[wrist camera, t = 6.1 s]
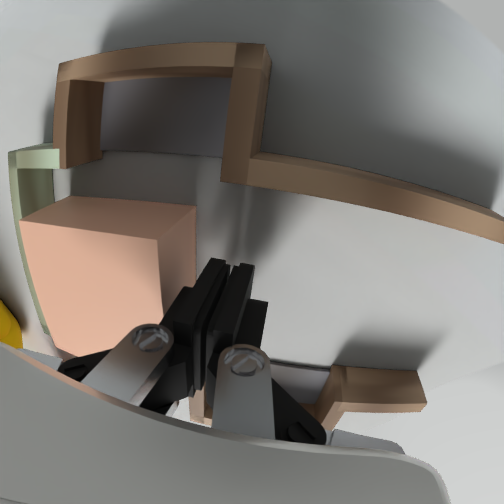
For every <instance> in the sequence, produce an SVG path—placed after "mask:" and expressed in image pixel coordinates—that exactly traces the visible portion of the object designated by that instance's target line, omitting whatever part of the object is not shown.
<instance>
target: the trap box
mask: <svg viewBox="0 0 504 504" xmlns="http://www.w3.org/2000/svg"><path fill="white" fill-rule="evenodd" d="M271 66H272V61H271V59H270V56H269V54H268V51H267V49H266V46H265V44H253V43H233V42H194V43H174V44H162V45H151V46H143V47H135V48H128V49H122V50H116V51H110V52H105V53H100V54H95V55H91V56H86V57H82V58H78V59H74V60H70V61H67V62H63V63H60V64H59V67H58V74H57V83H56V92H55V104H54V120H53V143H44V144H38V145H34V146H30V147H26V148H22V149H18V150H14V151H10V152H8V165H9V181H10V192H11V201H12V208H13V216H14V222H15V228H16V234H17V239H18V244H19V249H20V254H21V258H22V262H23V266H24V270H25V274H26V278H27V282H28V285H29V289H30V292H31V295H32V299H33V302H34V305H35V308H36V311H37V314H38V317H39V320H40V323H41V325H42V328H43V331H44V333H46V334H48V335H50V336H51V334H50V331H49V328H48V326H47V323H46V321H45V318H44V315H43V312H42V309H41V306H40V303H39V300H38V297H37V294H36V291H35V288H34V284H33V281H32V277H31V274H30V270H29V266H28V263H27V258H26V254H25V250H24V246H23V241H22V236H21V231H20V226H19V220H20V219H22V218H24V217H26V216H28V215H30V214H32V213H34V212H36V211H38V210H40V209H42V208H44V207H47V206H49V205H51V204H53V203H54V193H53V178H52V169H68V168H71V167H74V166H77V165H81V164H84V163H88V162H91V161H95V160H99V159H102V158H103V150H111V151H141V152H160V153H174V154H187V155H198V156H208V157H218V158H222V167H221V177H220V182H227V183H235V184H242V185H249V186H255V187H262V188H268V189H275V190H281V191H287V192H293V193H298V194H304V195H309V196H315V197H320V198H325V199H331V200H336V201H341V202H346V203H350V204H355V205H360V206H364V207H369V208H373V209H378V210H382V211H387V212H391V213H395V214H399V215H403V216H407V217H411V218H415V219H419V220H423V221H427V222H431V223H435V224H438V225H442V226H446V227H449V228H453V229H456V230H460V231H463V232H467V233H470V234H473V235H477V236H480V237H483V238H486V239H490V240H493V241H496V242H499V243H502V244H504V217H502V216H500V215H499V214H497V213H496V212H494V211H492V210H490V209H488V208H485V207H482V206H480V205H477V204H474V203H472V202H469V201H466V200H463V199H460V198H457V197H454V196H451V195H448V194H445V193H442V192H439V191H436V190H433V189H430V188H426V187H423V186H420V185H416V184H413V183H409V182H406V181H402V180H398V179H395V178H391V177H387V176H383V175H379V174H375V173H371V172H367V171H363V170H358V169H354V168H349V167H345V166H340V165H335V164H330V163H325V162H320V161H315V160H310V159H304V158H298V157H293V156H287V155H280V154H274V153H267V152H260V148H261V141H262V133H263V126H264V118H265V110H266V103H267V95H268V88H269V80H270V73H271ZM270 368H271V377H272V378H273V379H274V380H275V381H276V382H277V383H278V384H279V385H280V386H281V387H282V388H283V389H284V390H285V391H286V392H287V393H288V394H289V395H290V396H291V397H293V398H294V399H295V400H296V401H297V402H298V403H299V404H300V405H301V406H302V407H303V408H304V409H305V410H306V411H307V412H309V413H310V414H311V415H312V416H313V417H314V418H315V419H316V420H317V421H318V422H319V423H320V424H321V425H322V426H323V427H324V429H325V430H329V431H332V430H333V428H334V427H335V425H336V424H337V422H338V421H339V419H340V418H341V416H342V415H343V413H344V412H370V413H403V412H421V410H422V409H423V408H424V407H425V406H426V404H427V401H426V397H425V394H424V391H423V388H422V385H421V382H420V379H419V376H418V373H417V371H406V370H386V369H371V368H359V367H348V366H338V365H332V366H331V369H330V370H328V369H319V368H311V367H304V366H297V365H290V364H283V363H277V362H271V361H270ZM189 409H190V421H194V422H198V423H202V424H206V425H210V426H211V425H212V415H213V410H212V408H211V407H210V406H209V405H208V403H207V402H206V392H205V383H204V386H203V388H202V390H201V391H199V390H196V392H195V395H194V398H192V397H189Z"/></svg>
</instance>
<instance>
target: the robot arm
mask: <svg viewBox="0 0 504 504" xmlns="http://www.w3.org/2000/svg"><path fill="white" fill-rule="evenodd" d="M254 269H255V265H250V264H244V263H240V265H239V266H234V267H233V269H232V272H231V274H230V265H229V264H226V260H222V259H216V258H211V259H210V260H209V262H208V263H207V265H206V267H205V268H204V270H203V272H202V273H201V275H200V276H199V278H198V280H197V281H196V283H195V285H194V286H193V287H188V286H184V287H183V288H182V289H181V291H180V292H179V294H178V295H177V297H176V298H175V300H174V301H173V303H172V305H171V306H170V308H169V309H168V311H167V312H166V314H165V315H164V317H163V318H162V320H161V322H160V323H159V324H151V323H148V324H142V325H139V326H137V327H135V328H134V329H132V330H131V331H130V332H129V333H128V334H127V335H126V336H125V337H124V338H123V339H122V340H121V341H120V342H119V343H118V344H117V345H116V346H115V347H114V348H112V349H108V350H104V351H101V352H97V353H93V354H89V355H85V356H81V357H77V358H73V359H70V360H67V361H66V362H64V361H63V359H62V358H58V357H54V356H49V355H45V354H41V353H38V352H34V351H30V350H27V349H21V348H18V349H15V348H13V347H11V346H10V345H7V344H5V343H3V342H0V504H451V502H450V498H449V495H448V492H447V489H446V486H445V483H444V481H443V479H442V477H441V475H440V474H439V473H438V471H437V470H436V469H435V468H433V467H432V466H431V465H429V464H427V463H425V462H423V461H421V460H418V459H416V458H413V457H410V456H407V455H405V453H404V451H403V449H402V447H400V446H399V445H398V444H397V443H394V442H392V441H388V440H383V439H377V438H373V437H367V436H363V435H359V434H354V433H350V432H346V431H342V430H338V429H335V430H334V431H329V430H325V429H324V427H323V426H322V425H321V424H320V423H319V422H318V421H317V420H316V419H315V418H314V417H313V416H312V415H311V414H310V413H309V412H307V411H306V410H305V409H304V408H303V407H302V406H301V405H300V404H299V403H298V402H297V401H296V400H295V399H294V398H293V397H291V396H290V395H289V394H288V393H287V392H286V391H285V390H284V389H283V388H282V387H281V386H280V385H279V384H278V383H277V382H276V381H275V380H274V379H273V378H272V377H271V368H270V361H269V358H268V356H267V355H266V353H265V352H263V351H262V350H261V349H260V346H261V340H262V335H263V329H264V324H265V318H266V312H267V307H268V302H265V301H260V300H254V299H250V297H251V290H252V283H253V276H254ZM204 383H205V392H206V402H207V403H208V405H209V406H210V407H211V408H212V410H213V415H212V425H211V428H209V427H205V426H201V425H197V424H193V423H190V422H186V421H182V420H179V419H175V418H172V415H173V413H174V412H175V410H176V409H177V407H178V405H179V400H181V399H183V398H186V397H192V398H194V395H195V392H196V390H199V391H201V390H202V388H203V386H204Z"/></svg>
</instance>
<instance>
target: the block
mask: <svg viewBox="0 0 504 504" xmlns="http://www.w3.org/2000/svg"><path fill="white" fill-rule="evenodd" d="M19 226H20V231H21V236H22V241H23V246H24V250H25V254H26V258H27V263H28V266H29V270H30V274H31V277H32V281H33V284H34V288H35V291H36V294H37V297H38V300H39V303H40V306H41V309H42V312H43V315H44V318H45V321H46V323H47V326H48V328H49V331H50V334H51V336H52V339H53V341H54V343H55V346H56V347H57V348H59V349H61V350H64V351H66V352H68V353H70V354H73V355H75V356H78V357H81V356H85V355H89V354H93V353H97V352H101V351H104V350H108V349H112V348H114V347H115V346H116V345H117V344H118V343H119V342H120V341H121V340H122V339H123V338H124V337H125V336H126V335H127V334H128V333H129V332H130V331H131V330H132V329H134V328H135V327H137V326H139V325H142V324H148V323H151V324H159V323H160V322H161V320H162V318H163V317H164V315H165V314H166V312H167V311H168V309H169V308H170V306H171V305H172V303H173V301H174V300H175V298H176V297H177V295H178V294H179V292H180V291H181V289H182V288H183V287H184V286H188V287H193V286H194V285H195V283H196V206H192V205H182V204H172V203H161V202H150V201H138V200H126V199H112V198H98V197H82V196H69V197H66V198H64V199H62V200H60V201H57V202H55V203H53V204H51V205H49V206H47V207H44V208H42V209H40V210H38V211H36V212H34V213H32V214H30V215H28V216H26V217H24V218H22V219H20V220H19Z"/></svg>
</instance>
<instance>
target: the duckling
mask: <svg viewBox="0 0 504 504" xmlns="http://www.w3.org/2000/svg"><path fill="white" fill-rule="evenodd" d="M0 342H3V343H5V344H7V345H10V346H11V347H13V348H15V349H18V348H21V349H23V343H22V334H21V329H20V326H19V324H18V322H17V320H16V319H15V317H14V316H13V315H12V313H11V312H10V311H9V310H8V308H7V307H6V306H5V305H4V304H3V302H2V301H1V300H0Z"/></svg>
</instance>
